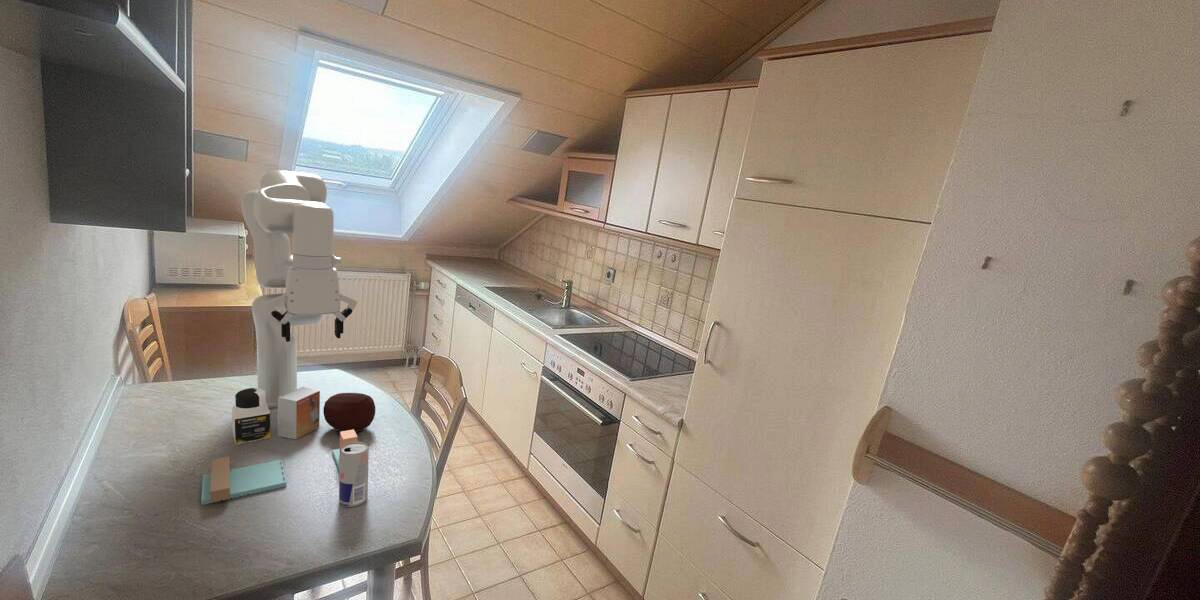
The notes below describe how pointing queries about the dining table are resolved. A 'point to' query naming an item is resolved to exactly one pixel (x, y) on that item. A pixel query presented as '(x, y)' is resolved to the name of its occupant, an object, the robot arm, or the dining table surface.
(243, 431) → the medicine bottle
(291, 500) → the dining table surface
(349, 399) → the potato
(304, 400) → the small box
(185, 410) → the dining table surface
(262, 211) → the robot arm
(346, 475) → the energy drink
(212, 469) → the teal plate with bar
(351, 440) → the stub
